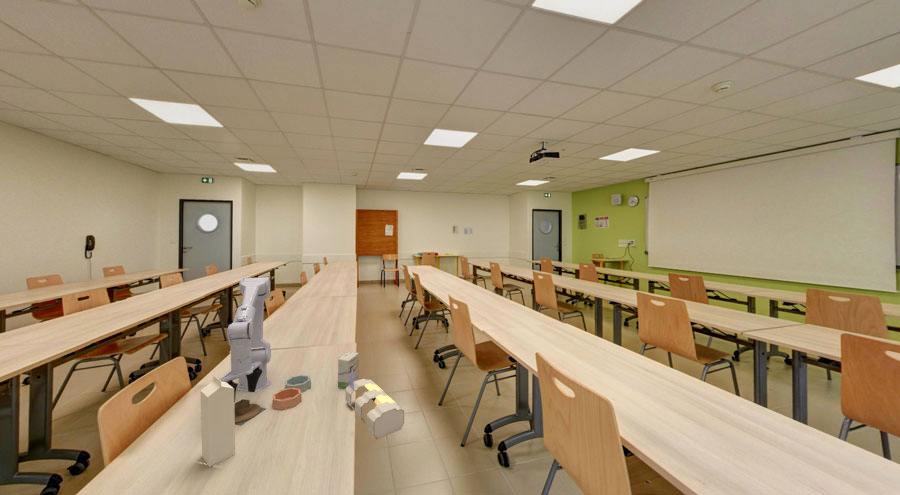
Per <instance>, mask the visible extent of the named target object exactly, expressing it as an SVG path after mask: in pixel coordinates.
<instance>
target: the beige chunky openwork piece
mask: <svg viewBox="0 0 900 495" xmlns="http://www.w3.org/2000/svg"><path fill="white" fill-rule="evenodd" d="M363 387H365V389H366V390H368V391H364V392H363V393H362V395H360V396H358V397H357V398H356V399H355V401H354V402H355V406H354V405H353V403H352V394H353V393H355V392H358V390H359V389H360V388H363ZM344 389H345V388H344ZM371 400H372V402H373V403H375V407H374V408H372V409H370V410H369V411H368V412H367V414H366V421H365V420H364V418H363V407H364V405H366V404H369V402H370V401H371ZM345 401H346V403H348V404H347V405H349V407H350V408H351V409H352V410H354V411H355V414H356V415H357V417H358V418H359V419H360V421H361V422H362V423H363V424H365V423H366V428H367V429H368V431H369V432H370V433H371V435H372V436H373V437H374V439H375V440H379V439H381V438H384V437H387V436H388V435H392V434H393V433H396V432H398V431H400V430H402V428H403V426H404V424H405V410H404V409H403V408H402V406H400V405H399V404H398V403H397V402H396V401H395V400H393V398H392V397H390V396H389V395H388V394H387V393H386V392H385V391H384V390H383V389H382V388H381V387H380V386H378V384H377V383H375V382H374V381H373V380H372V379H370V378H369V379H366V378H362V379H358V380H357V381H354V377H353V372H351V373H350V374H349V386H348V387H347V388H346V389H345Z"/></svg>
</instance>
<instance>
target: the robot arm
mask: <svg viewBox="0 0 900 495" xmlns="http://www.w3.org/2000/svg"><path fill="white" fill-rule="evenodd" d="M238 285H239V287H238V288H239V292H240V293H241V295H242V302H241V305H238V307H237V309H236V310H235V311H236V312H235V314H234V317H233V318H234V319H233V321H232V323H230V324H229V325H228V327H227V331H226V332H227V333H226V334H227V340H228V346H229V347H230V372H228V373H226V374H225V375H223V377H220V378H218V379H219V380H221V381H222V382H226V383H228V384H229V385H230V386H231V387H233V388H234V404H235V403H236V393H237V391H243V392H249V393H258V392H259V391H261V390H264V389H265V388H266V387H269V386H270V385H272V384H273V382H272V381H268V377H267V375H268V374H267V373H268V371H267V370H268V369H267V364H269V363H270V361H271V358H272V349H271V343H270V342H268V341H267V340H265V339H264V313H265V312H264V311H265V310H264V309H265V308H264V306H265V300H266V299H267V298H270V297H271V296H270V295H271V279H270V277H269V276H265V277H242V278H241V279H240V280H239V284H238ZM237 379H238V383H236V382H235V380H237Z"/></svg>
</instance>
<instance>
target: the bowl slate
mask: <svg viewBox="0 0 900 495" xmlns="http://www.w3.org/2000/svg"><path fill="white" fill-rule="evenodd" d="M311 384H312V382H311V376H310V375H305V374H300V375H294V376H291V377H289V378H288V379H285V380H284V389H288V388H298V389H300V390H301V394H302V393H305V392H307V391H308V390H310V389H312V387H311V386H312V385H311Z"/></svg>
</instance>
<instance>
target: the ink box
mask: <svg viewBox="0 0 900 495" xmlns="http://www.w3.org/2000/svg"><path fill="white" fill-rule="evenodd" d="M337 360H338V362H337V388H338V389H339V388H340V389H346V388H347V387H348V386H349V374H350V373H351V372H353V377H354V381H357V380H360V376H359V375H360V374H359V373H360V352H353V351H348V352H346V353H345V354H343V355H342V356H341V357H339V358H338V359H337Z"/></svg>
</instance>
